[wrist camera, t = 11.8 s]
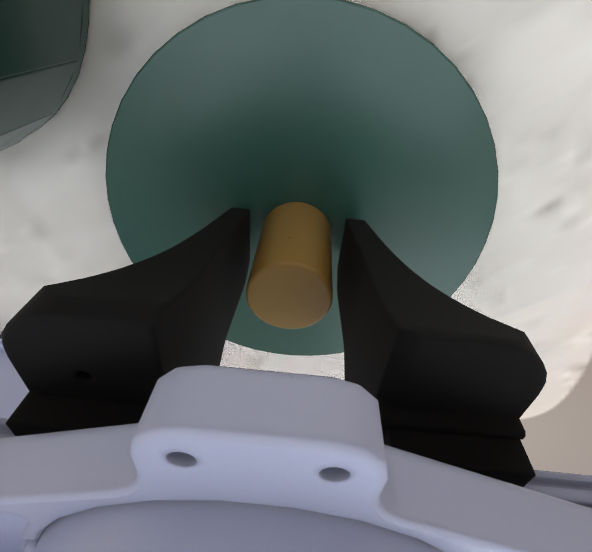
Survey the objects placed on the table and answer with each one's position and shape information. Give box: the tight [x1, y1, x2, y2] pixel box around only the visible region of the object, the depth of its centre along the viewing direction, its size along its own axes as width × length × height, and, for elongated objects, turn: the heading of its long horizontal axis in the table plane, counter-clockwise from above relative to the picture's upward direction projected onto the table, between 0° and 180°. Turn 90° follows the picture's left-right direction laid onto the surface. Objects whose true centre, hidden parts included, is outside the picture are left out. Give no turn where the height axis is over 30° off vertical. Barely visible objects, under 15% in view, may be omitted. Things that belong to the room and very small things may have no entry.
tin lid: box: [106, 0, 498, 356], centre depth 12 cm, size 13×13×5 cm
